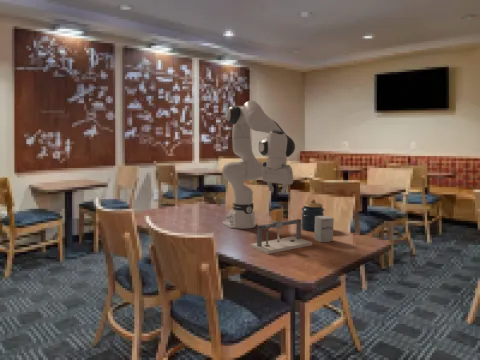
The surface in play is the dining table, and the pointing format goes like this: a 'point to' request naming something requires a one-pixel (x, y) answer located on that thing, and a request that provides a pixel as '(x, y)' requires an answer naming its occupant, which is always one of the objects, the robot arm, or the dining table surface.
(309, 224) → the canister
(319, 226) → the supplement box
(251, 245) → the hole plate
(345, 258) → the dining table surface
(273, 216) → the leg
